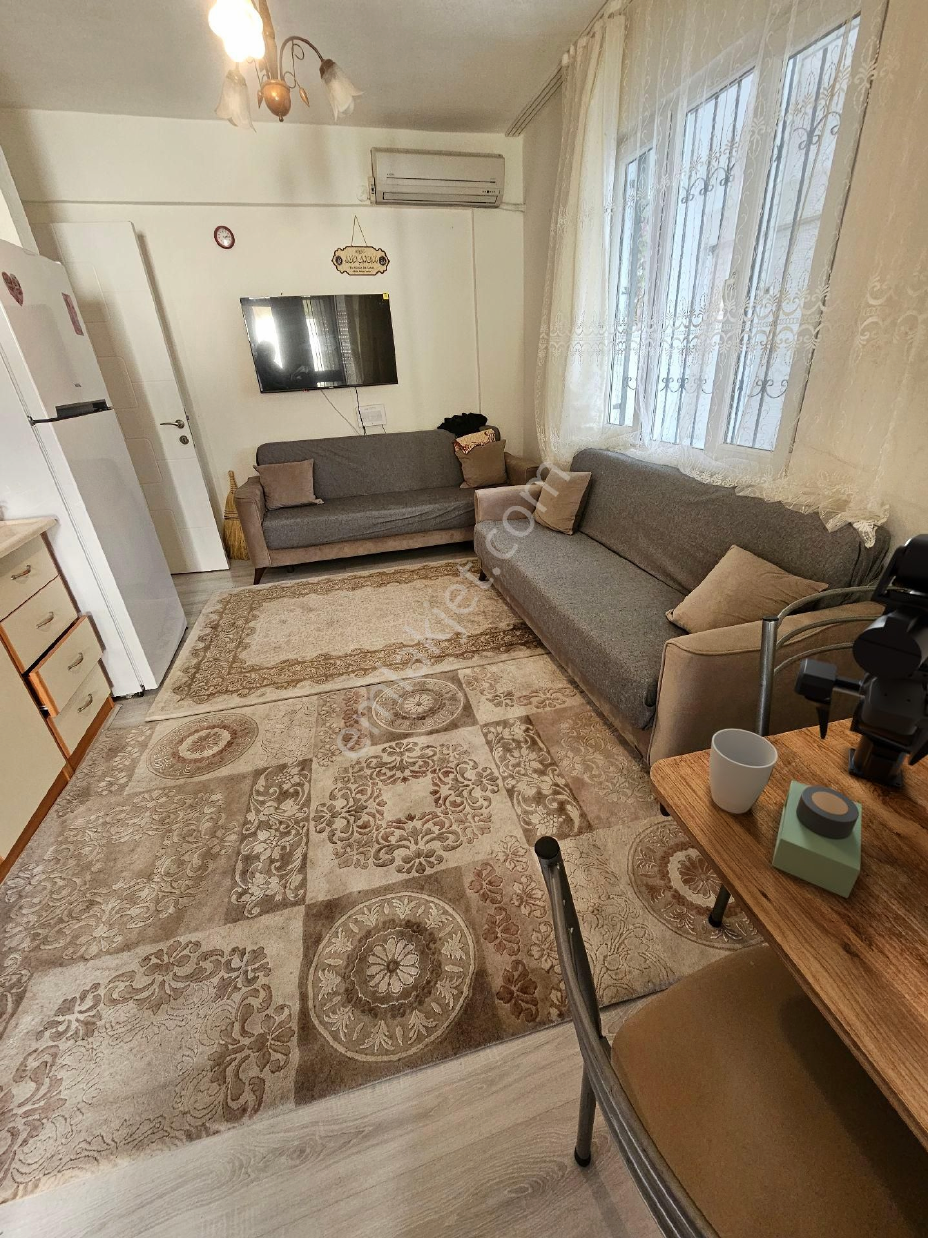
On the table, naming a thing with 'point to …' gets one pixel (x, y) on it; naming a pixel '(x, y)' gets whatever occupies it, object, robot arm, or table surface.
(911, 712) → the robot arm
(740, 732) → the cup
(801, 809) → the tape
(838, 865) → the sage green box
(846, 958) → the table surface
